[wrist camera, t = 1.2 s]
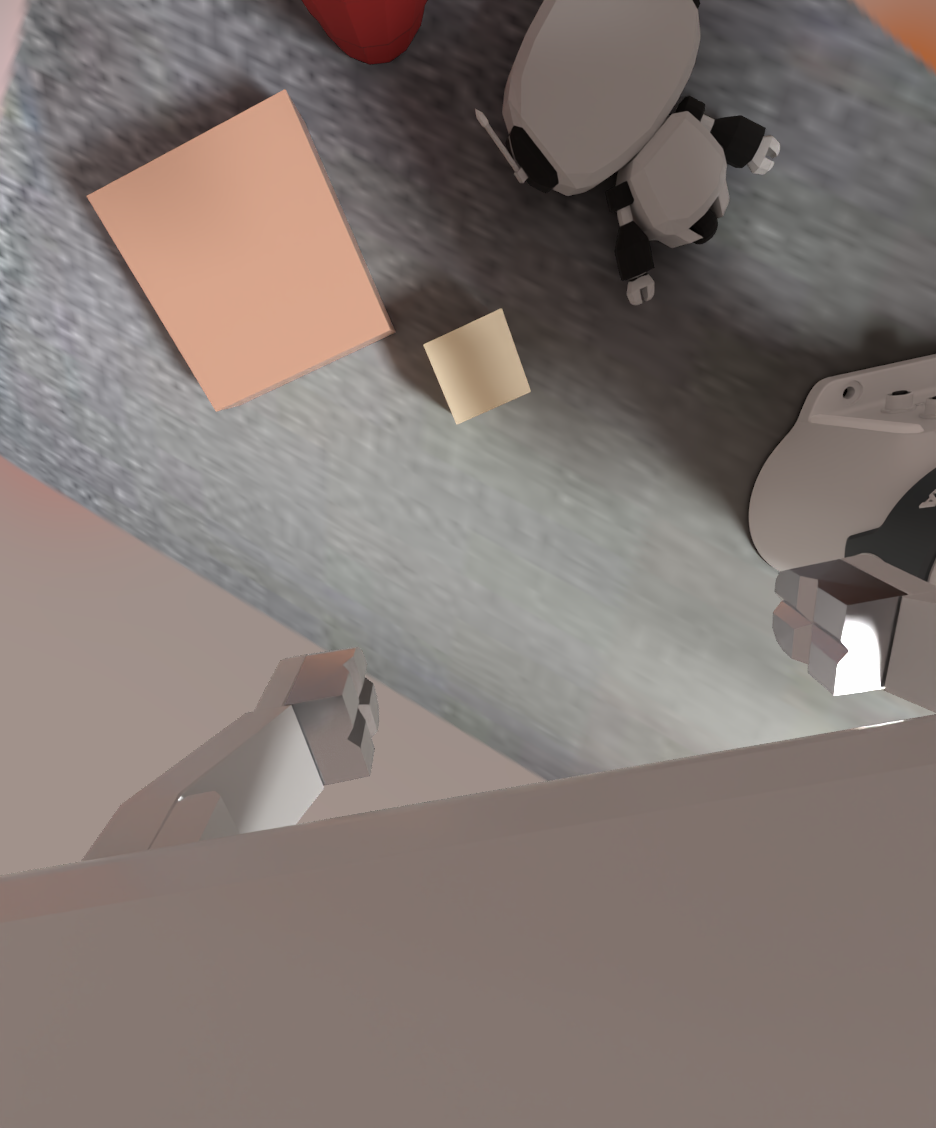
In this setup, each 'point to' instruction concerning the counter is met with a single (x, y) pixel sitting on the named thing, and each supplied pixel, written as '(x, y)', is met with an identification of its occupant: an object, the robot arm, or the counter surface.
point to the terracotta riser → (246, 254)
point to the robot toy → (625, 123)
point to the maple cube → (478, 366)
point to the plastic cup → (369, 26)
